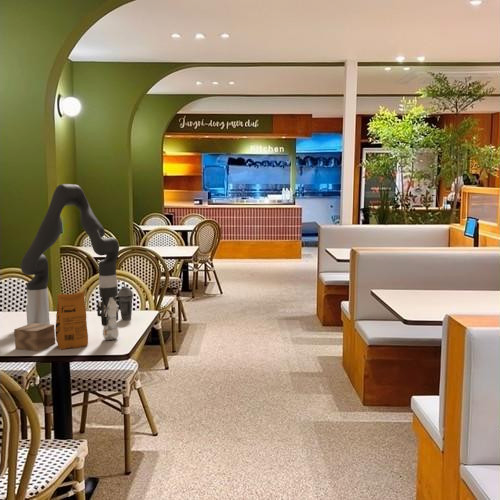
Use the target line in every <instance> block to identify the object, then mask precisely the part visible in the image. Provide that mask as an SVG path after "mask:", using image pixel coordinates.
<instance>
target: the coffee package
mask: <svg viewBox="0 0 500 500" xmlns="http://www.w3.org/2000/svg"><path fill="white" fill-rule="evenodd" d="M85 300H86V299H85V292H84V291H79V292H75V293H71V294H69V293H57V305H56V314H55V318H56V319H55V342H56V343H57V347H58V349H60V350H65V349H66V350H67V349H71V348H73V349H78V348H81V347H85V346H86V347H87V346H88V345H89V334H88V325H87V324H88V322H87V309H86V308H87V307H86V303H85Z"/></svg>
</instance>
